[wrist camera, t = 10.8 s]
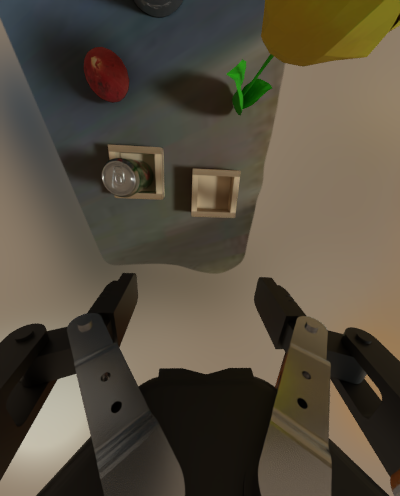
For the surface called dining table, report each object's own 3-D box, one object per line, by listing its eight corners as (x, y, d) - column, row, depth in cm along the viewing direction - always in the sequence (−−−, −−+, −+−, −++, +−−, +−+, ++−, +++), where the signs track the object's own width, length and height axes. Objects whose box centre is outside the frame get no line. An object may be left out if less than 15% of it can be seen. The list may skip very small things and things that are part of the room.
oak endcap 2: (192, 168, 36) (192, 168, 33) (235, 170, 37) (240, 171, 33) (191, 211, 40) (191, 216, 36) (230, 213, 40) (234, 217, 37)
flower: (263, 72, 31) (869, -680, 3) (258, 129, 34) (541, -14, 7) (211, 72, 30) (411, -766, 3) (211, 130, 34) (304, -19, 6)
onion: (131, 113, 32) (115, 97, 25) (96, 101, 31) (68, 81, 24) (137, 71, 30) (120, 40, 23) (99, 56, 29) (69, 20, 22)
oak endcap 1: (116, 146, 34) (107, 144, 30) (163, 149, 35) (160, 147, 31) (121, 194, 37) (114, 197, 34) (164, 196, 38) (162, 199, 34)
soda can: (128, 188, 36) (101, 197, 25) (125, 159, 34) (95, 155, 23) (154, 189, 37) (139, 199, 26) (153, 161, 35) (137, 159, 24)
